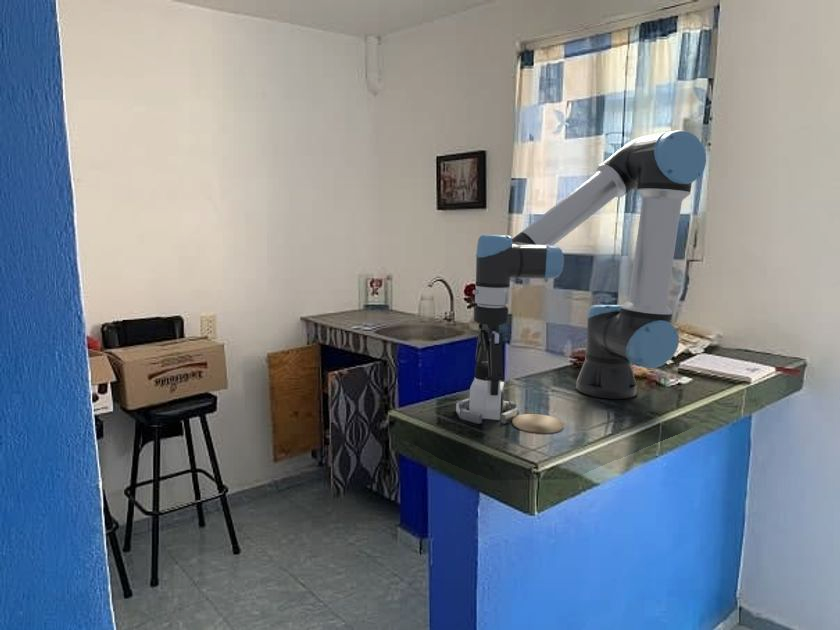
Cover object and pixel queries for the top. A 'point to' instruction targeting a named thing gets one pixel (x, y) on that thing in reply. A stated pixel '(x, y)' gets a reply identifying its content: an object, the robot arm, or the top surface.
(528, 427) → the disc
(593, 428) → the top surface
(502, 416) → the collar
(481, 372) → the medicine bottle
